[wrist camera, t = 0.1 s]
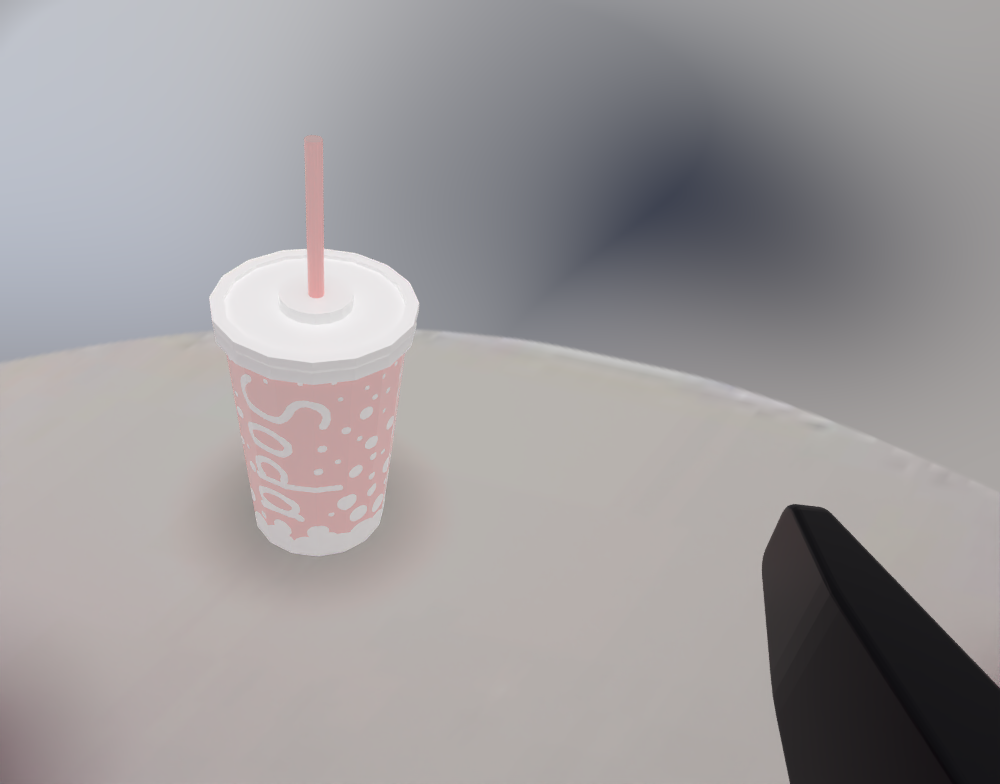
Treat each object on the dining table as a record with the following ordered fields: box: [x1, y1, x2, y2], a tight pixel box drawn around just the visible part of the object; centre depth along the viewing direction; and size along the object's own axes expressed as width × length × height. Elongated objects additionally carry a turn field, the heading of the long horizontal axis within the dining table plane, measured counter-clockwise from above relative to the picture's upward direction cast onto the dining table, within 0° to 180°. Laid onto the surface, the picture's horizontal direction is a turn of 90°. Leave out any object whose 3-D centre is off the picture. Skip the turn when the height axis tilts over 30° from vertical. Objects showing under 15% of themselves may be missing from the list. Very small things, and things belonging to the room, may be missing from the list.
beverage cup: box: [209, 135, 419, 557], centre depth 27 cm, size 6×6×14 cm
